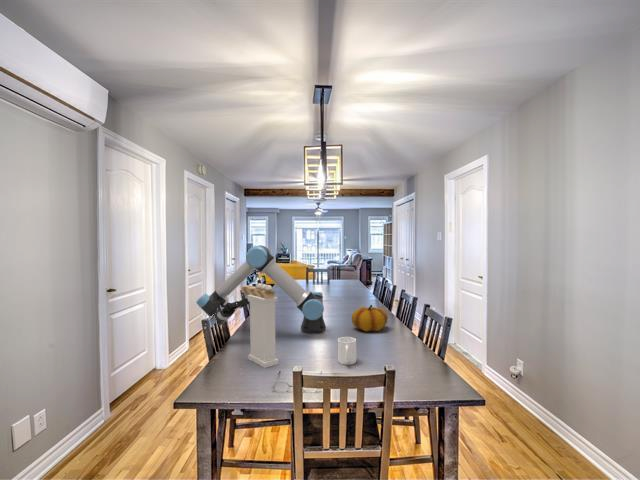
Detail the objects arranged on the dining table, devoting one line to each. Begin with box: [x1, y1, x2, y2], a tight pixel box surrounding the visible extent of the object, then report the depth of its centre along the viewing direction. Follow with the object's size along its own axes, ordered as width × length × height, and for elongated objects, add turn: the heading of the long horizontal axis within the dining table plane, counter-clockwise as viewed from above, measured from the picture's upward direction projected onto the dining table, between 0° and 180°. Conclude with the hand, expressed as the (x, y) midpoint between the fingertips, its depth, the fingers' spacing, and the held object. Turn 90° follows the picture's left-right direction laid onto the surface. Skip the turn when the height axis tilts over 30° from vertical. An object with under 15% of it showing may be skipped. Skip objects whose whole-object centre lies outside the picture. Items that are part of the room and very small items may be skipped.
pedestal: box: [246, 294, 279, 369], centre depth 160 cm, size 15×7×30 cm, turn 39°
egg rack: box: [240, 282, 275, 299], centre depth 163 cm, size 24×4×6 cm, turn 39°
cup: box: [337, 336, 357, 366], centre depth 157 cm, size 8×12×10 cm
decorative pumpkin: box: [351, 304, 388, 333], centre depth 211 cm, size 20×22×15 cm
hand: (241, 295), depth 175 cm, fingers open, 13 cm apart
